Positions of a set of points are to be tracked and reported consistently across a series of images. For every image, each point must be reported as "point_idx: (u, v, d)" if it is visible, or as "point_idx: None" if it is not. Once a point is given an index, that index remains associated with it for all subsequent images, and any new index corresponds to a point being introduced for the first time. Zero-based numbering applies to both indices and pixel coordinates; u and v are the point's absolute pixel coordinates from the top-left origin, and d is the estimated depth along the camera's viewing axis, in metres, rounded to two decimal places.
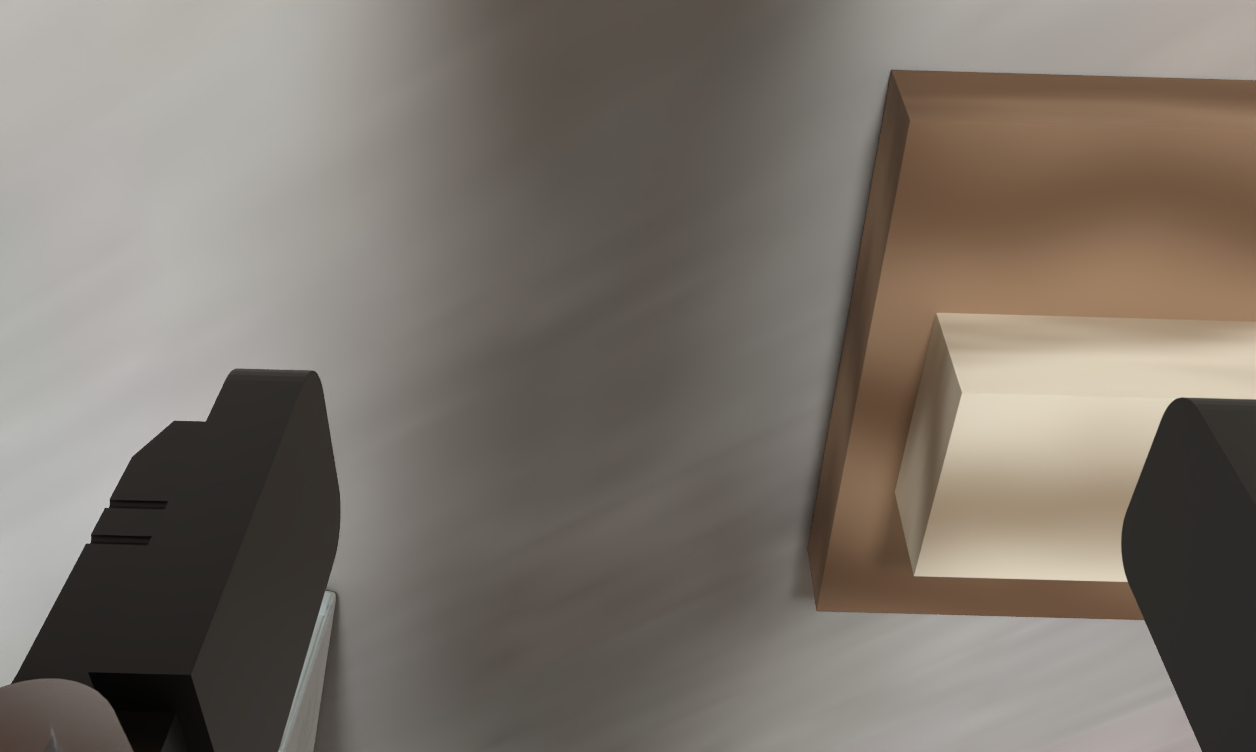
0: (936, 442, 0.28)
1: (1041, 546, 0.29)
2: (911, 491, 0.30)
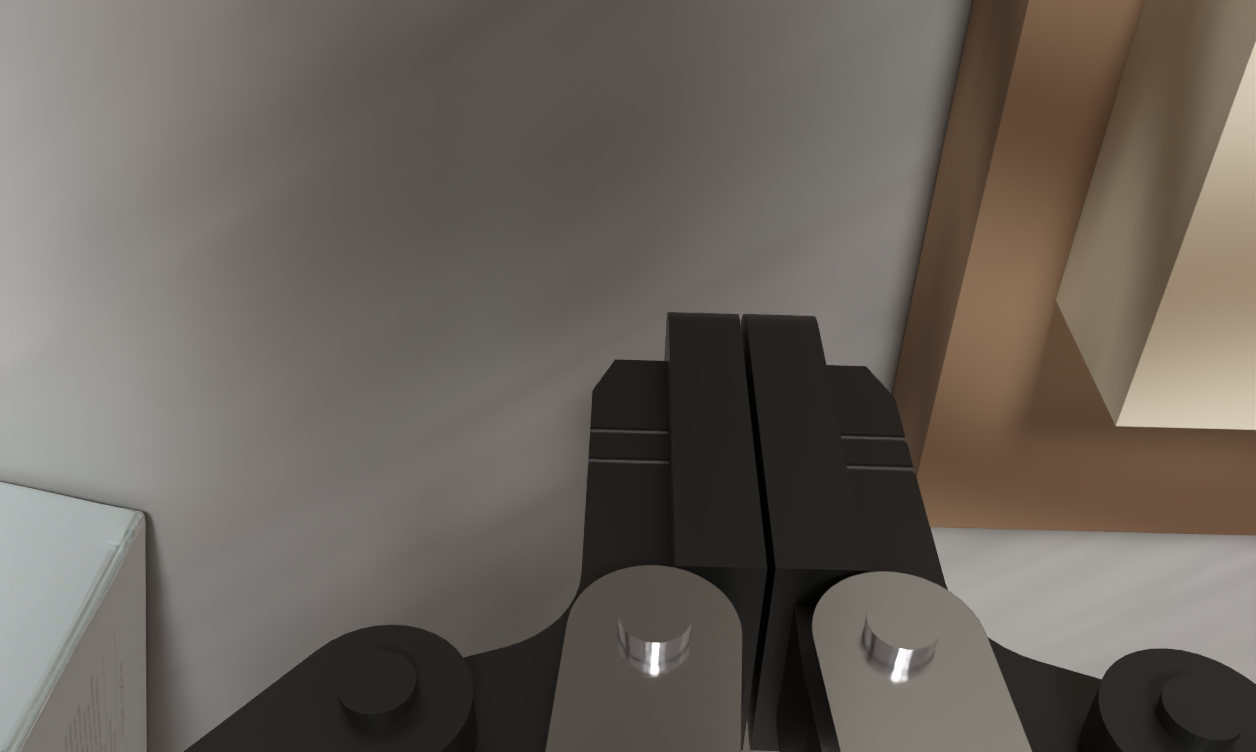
0: (1183, 142, 0.14)
1: None
2: (1104, 275, 0.17)
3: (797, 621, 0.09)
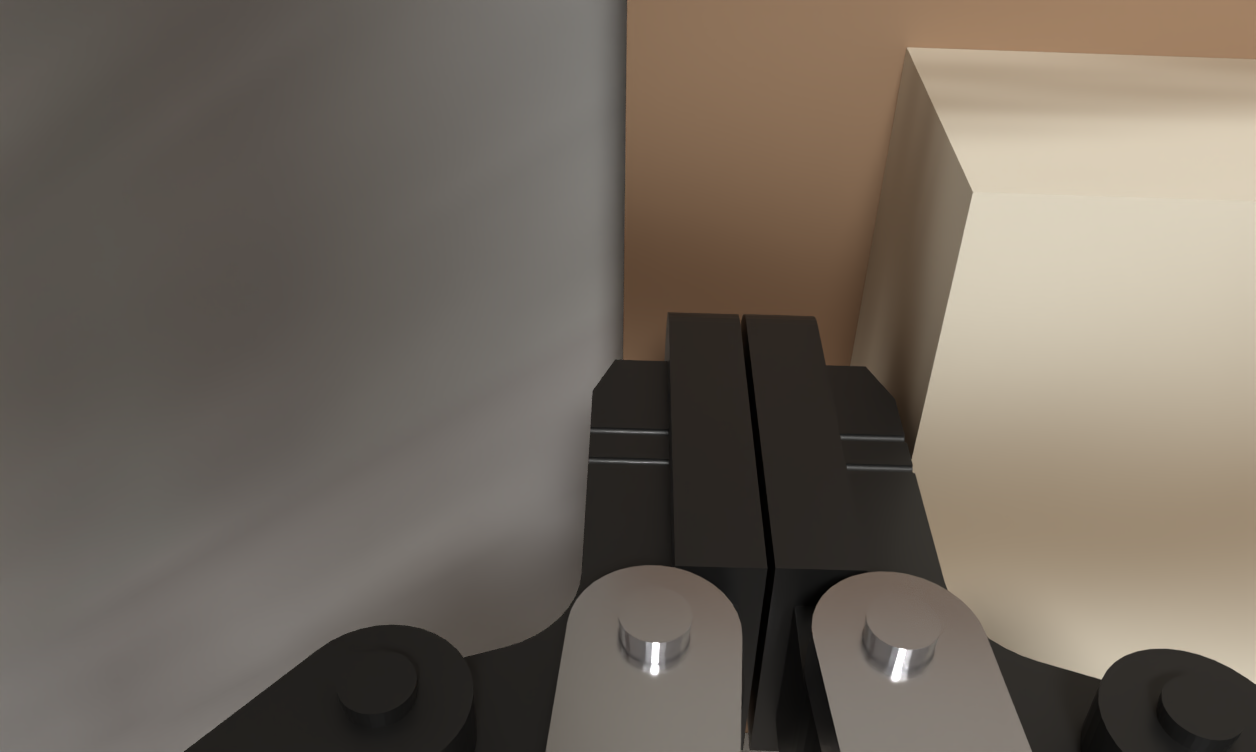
0: (907, 357, 0.11)
1: (1160, 617, 0.12)
2: None
3: (797, 621, 0.09)
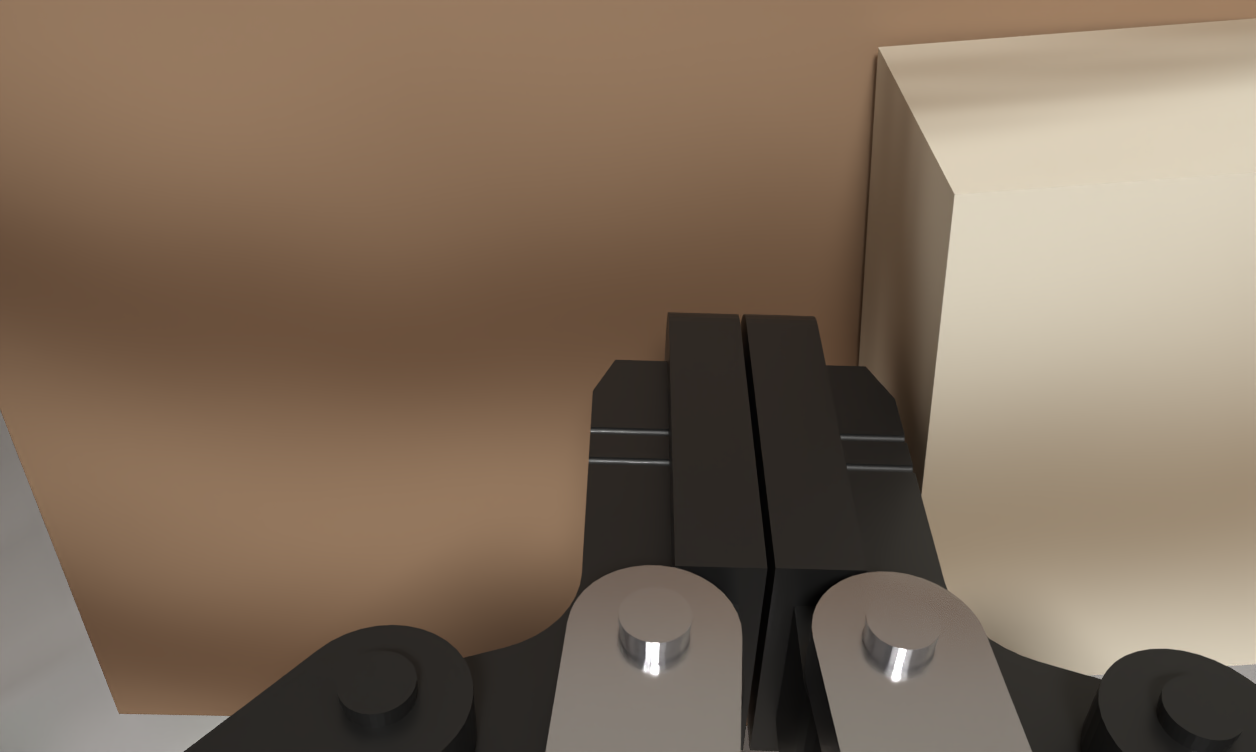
0: (910, 360, 0.11)
1: (1196, 593, 0.12)
2: None
3: (797, 621, 0.09)
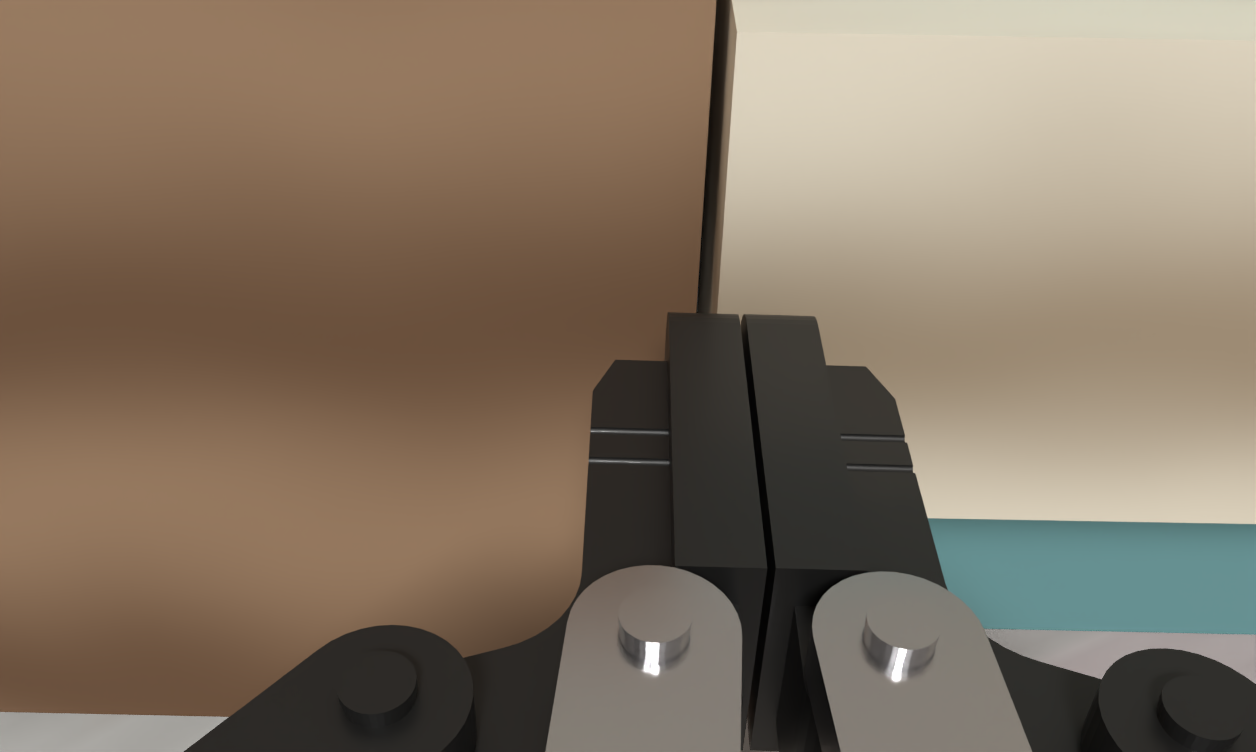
0: (718, 203, 0.13)
1: (962, 442, 0.14)
2: None
3: (797, 621, 0.09)
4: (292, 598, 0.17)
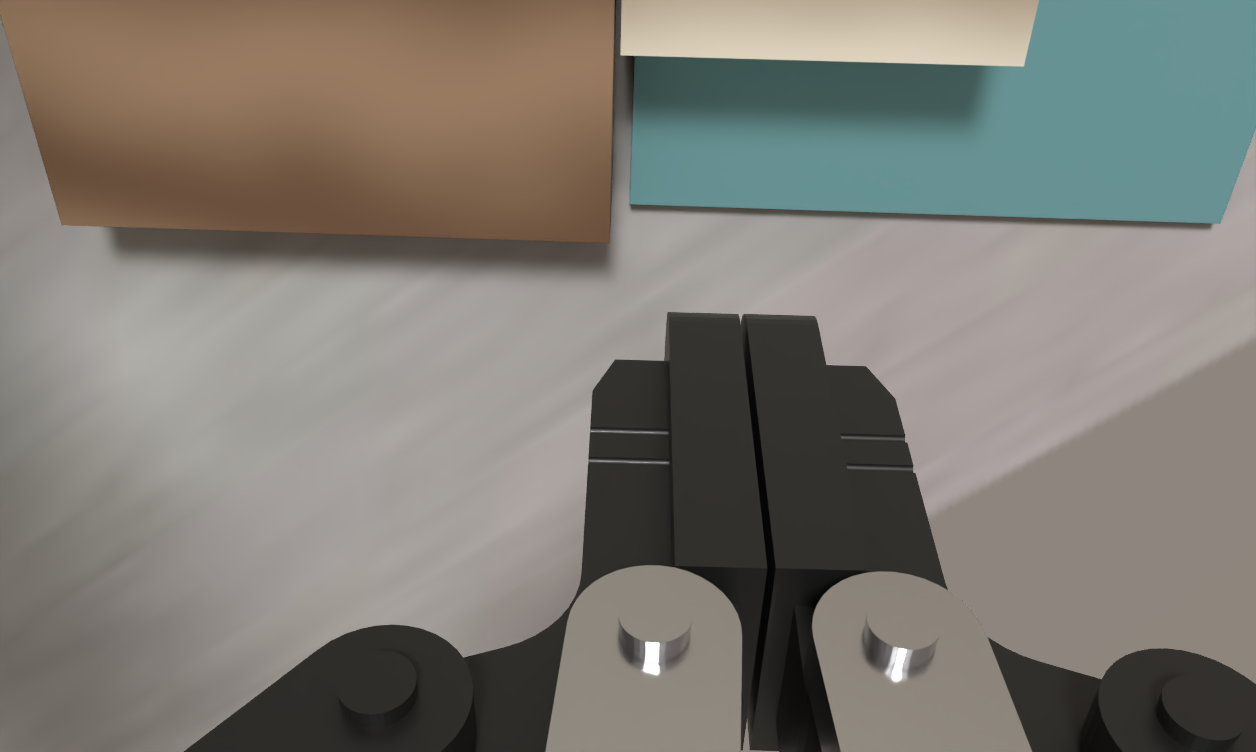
0: None
1: (756, 5, 0.26)
2: None
3: (797, 621, 0.09)
4: (388, 138, 0.29)
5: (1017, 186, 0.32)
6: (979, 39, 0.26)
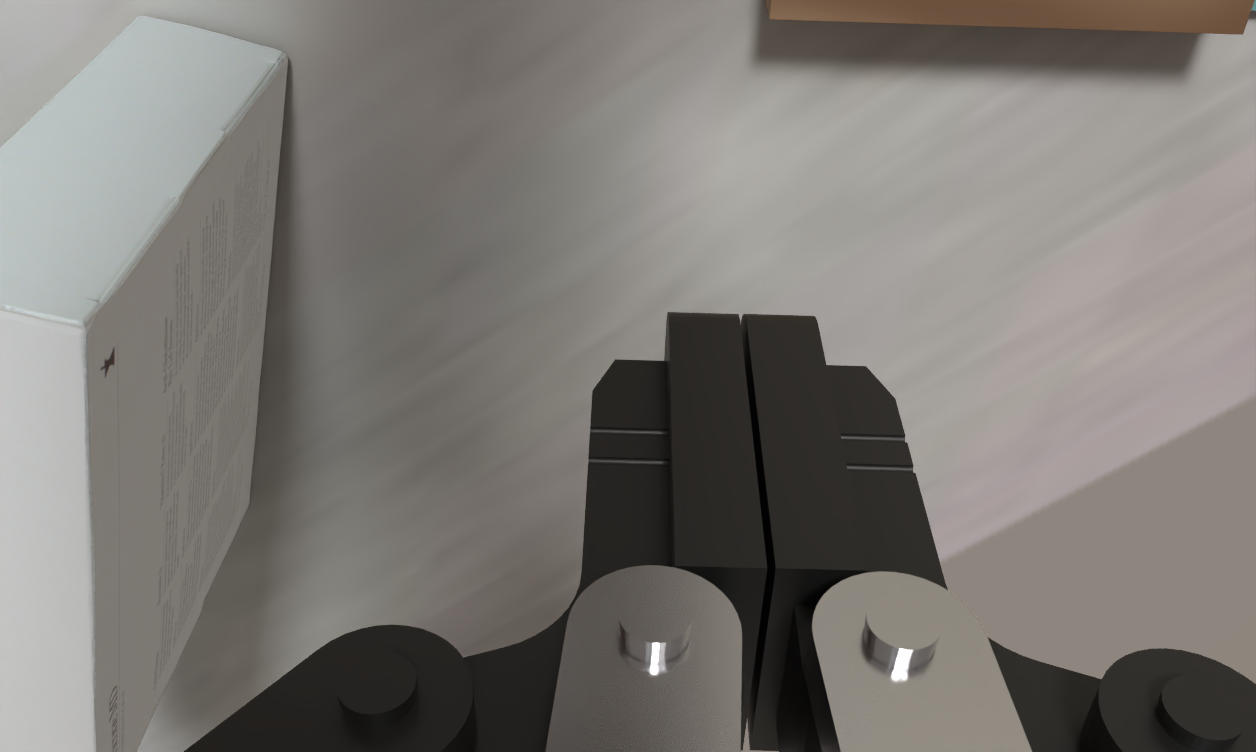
0: None
1: None
2: None
3: (797, 621, 0.09)
4: None
5: None
6: None
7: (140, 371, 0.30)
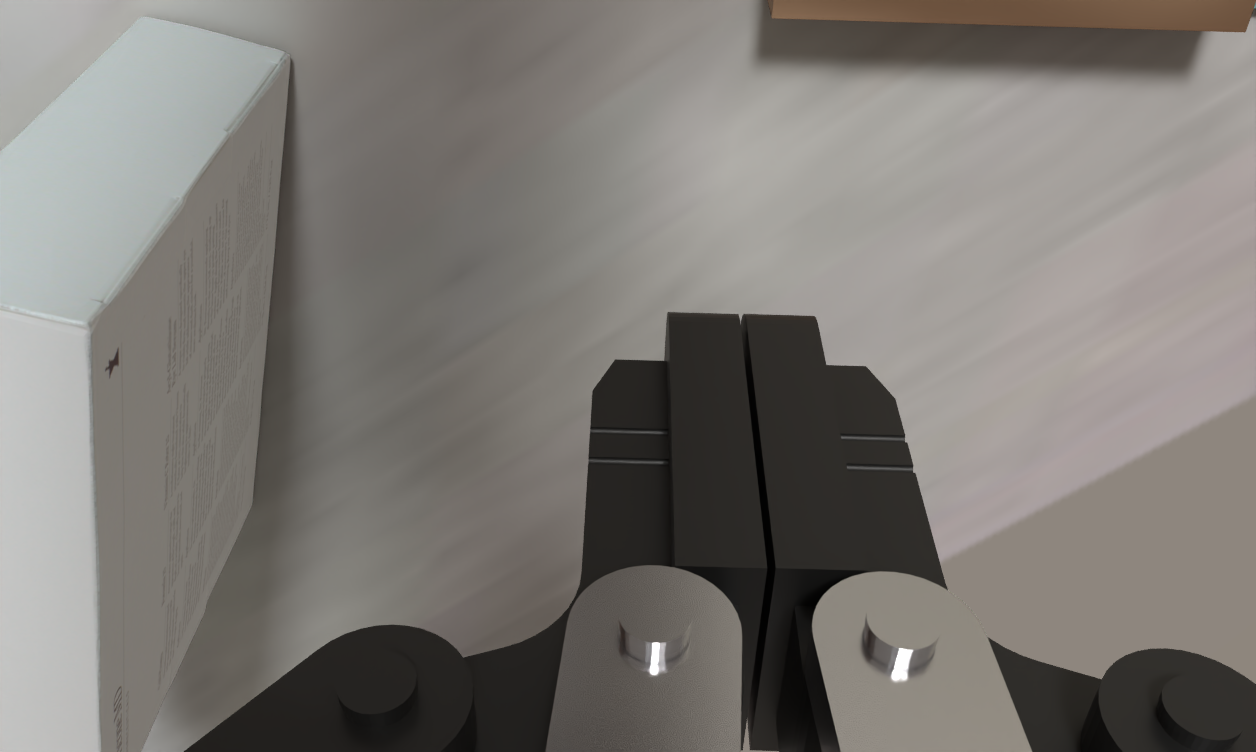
0: None
1: None
2: None
3: (797, 621, 0.09)
4: None
5: None
6: None
7: (144, 371, 0.30)
